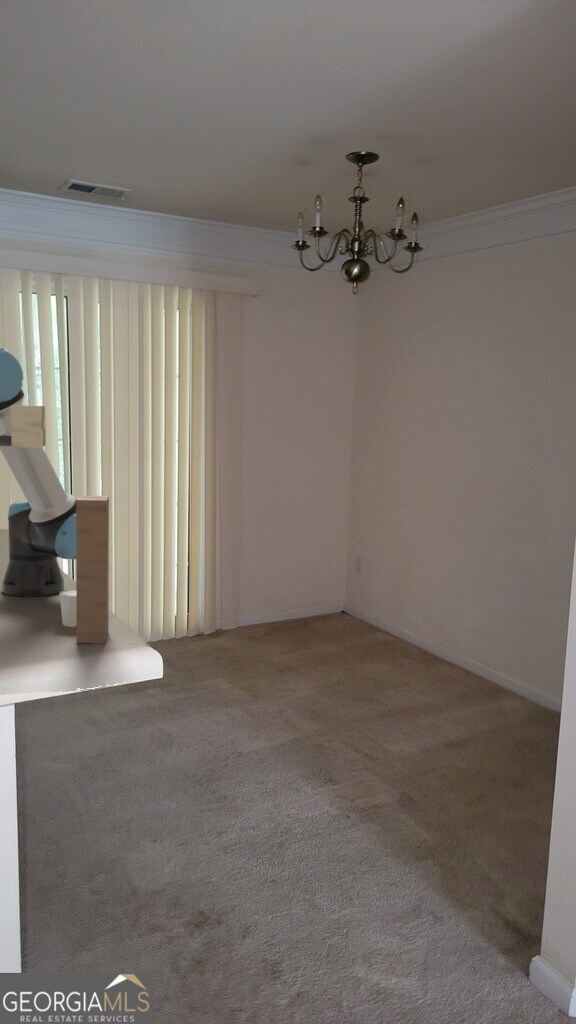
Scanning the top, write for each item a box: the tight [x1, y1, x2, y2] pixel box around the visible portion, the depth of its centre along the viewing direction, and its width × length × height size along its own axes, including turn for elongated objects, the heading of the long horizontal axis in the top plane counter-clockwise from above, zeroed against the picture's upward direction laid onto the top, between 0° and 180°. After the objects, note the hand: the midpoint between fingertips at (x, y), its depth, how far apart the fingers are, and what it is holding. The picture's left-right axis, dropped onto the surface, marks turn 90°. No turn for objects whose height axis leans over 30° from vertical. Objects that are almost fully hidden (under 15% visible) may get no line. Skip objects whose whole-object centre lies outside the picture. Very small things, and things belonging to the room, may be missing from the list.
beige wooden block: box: [0, 404, 47, 448], centre depth 151 cm, size 7×14×8 cm, turn 100°
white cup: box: [59, 588, 77, 628], centre depth 168 cm, size 7×7×7 cm
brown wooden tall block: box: [75, 494, 110, 644], centre depth 156 cm, size 8×6×29 cm
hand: (3, 426), depth 151 cm, fingers closed on beige wooden block, 2 cm apart
